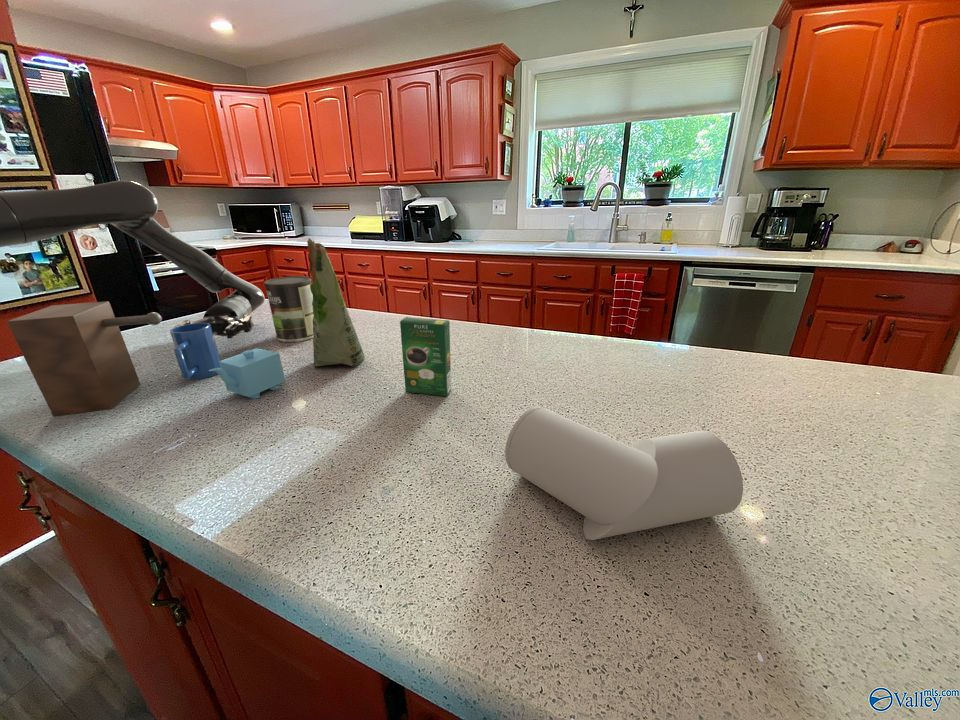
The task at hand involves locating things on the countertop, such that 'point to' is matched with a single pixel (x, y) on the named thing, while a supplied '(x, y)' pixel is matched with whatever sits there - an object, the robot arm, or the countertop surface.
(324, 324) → the pouch
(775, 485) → the countertop surface
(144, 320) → the peg box
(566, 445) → the bent grey cylinder
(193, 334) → the blue mug
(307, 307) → the coffee can
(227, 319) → the robot arm
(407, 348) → the coffee box
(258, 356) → the teapot
